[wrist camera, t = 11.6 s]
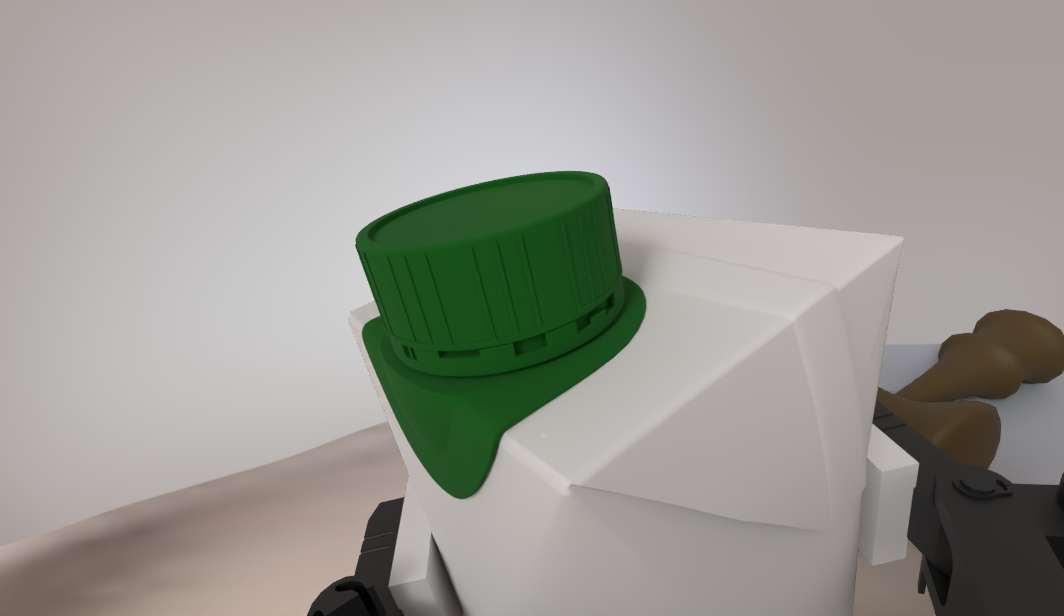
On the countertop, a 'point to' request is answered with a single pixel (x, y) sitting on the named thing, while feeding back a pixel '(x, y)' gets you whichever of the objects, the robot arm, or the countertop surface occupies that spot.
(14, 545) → the countertop surface
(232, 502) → the countertop surface
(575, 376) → the soya milk
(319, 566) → the countertop surface
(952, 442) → the kendama
